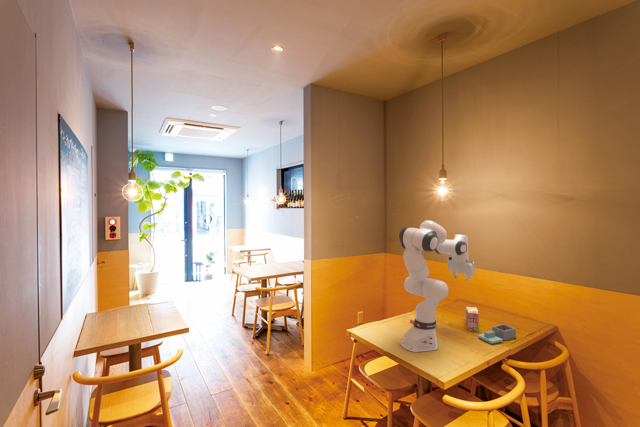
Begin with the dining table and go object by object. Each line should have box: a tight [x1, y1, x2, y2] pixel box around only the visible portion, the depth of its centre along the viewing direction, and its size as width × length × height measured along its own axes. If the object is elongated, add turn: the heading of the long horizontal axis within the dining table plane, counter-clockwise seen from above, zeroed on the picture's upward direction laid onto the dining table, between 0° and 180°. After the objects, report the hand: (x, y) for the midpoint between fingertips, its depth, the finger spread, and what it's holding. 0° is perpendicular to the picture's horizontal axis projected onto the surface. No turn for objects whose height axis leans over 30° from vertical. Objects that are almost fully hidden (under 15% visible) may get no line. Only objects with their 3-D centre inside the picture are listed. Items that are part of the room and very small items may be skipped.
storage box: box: [491, 323, 517, 342], centre depth 191 cm, size 10×8×6 cm
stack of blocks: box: [465, 306, 480, 333], centre depth 210 cm, size 21×6×12 cm, turn 158°
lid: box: [476, 329, 504, 345], centre depth 187 cm, size 10×8×5 cm
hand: (461, 280), depth 201 cm, fingers open, 8 cm apart
